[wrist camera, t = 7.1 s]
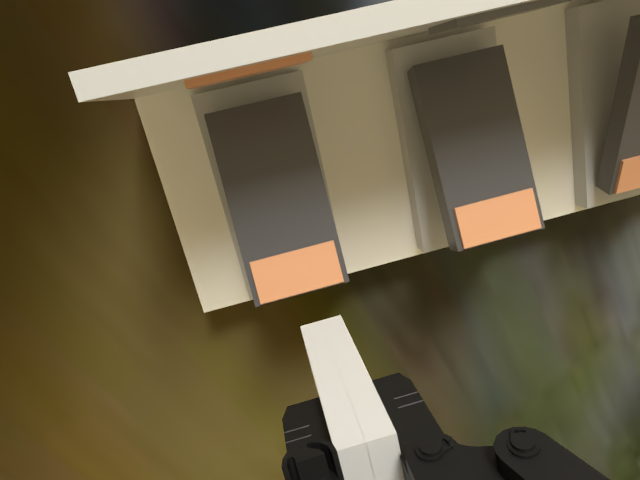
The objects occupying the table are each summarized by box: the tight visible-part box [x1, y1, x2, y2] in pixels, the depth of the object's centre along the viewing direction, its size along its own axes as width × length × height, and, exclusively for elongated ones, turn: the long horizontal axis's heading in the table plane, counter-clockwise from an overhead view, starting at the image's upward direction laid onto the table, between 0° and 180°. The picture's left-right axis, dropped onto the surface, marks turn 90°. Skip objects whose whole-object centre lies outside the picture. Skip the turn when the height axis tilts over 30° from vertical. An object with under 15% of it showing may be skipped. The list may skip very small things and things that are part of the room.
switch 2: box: [407, 44, 545, 252], centre depth 27 cm, size 5×10×1 cm, turn 13°
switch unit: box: [68, 0, 640, 313], centre depth 27 cm, size 34×14×13 cm, turn 103°
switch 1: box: [204, 92, 350, 307], centre depth 26 cm, size 5×10×1 cm, turn 13°
